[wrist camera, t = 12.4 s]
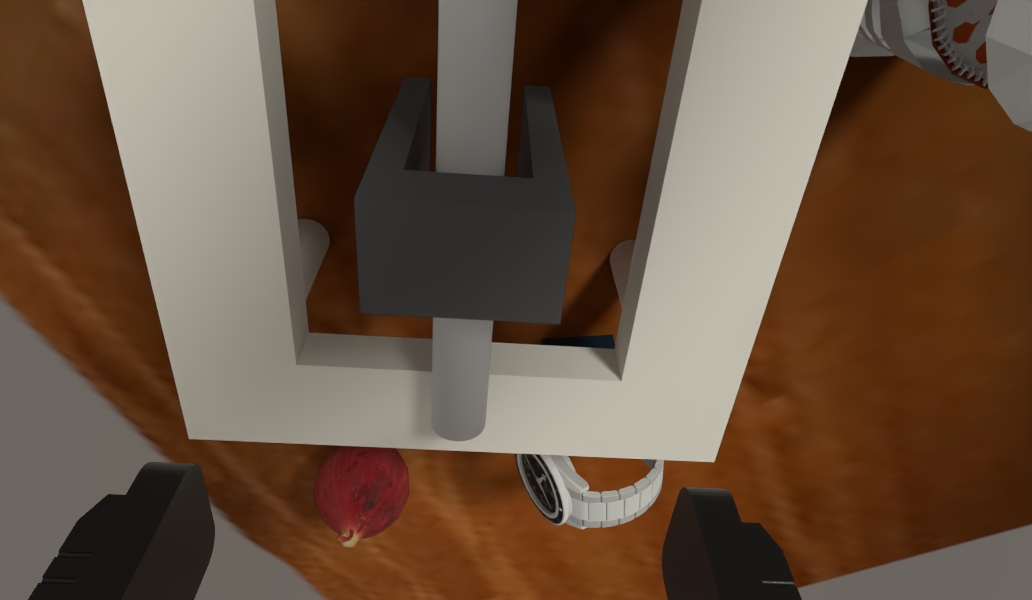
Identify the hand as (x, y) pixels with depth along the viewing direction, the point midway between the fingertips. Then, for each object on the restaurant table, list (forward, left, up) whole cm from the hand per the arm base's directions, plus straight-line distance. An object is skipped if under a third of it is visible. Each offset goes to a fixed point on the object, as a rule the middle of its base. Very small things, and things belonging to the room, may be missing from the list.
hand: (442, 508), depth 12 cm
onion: (+6, +25, -26) cm, 37 cm away
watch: (-7, +18, -26) cm, 33 cm away
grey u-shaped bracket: (0, 0, -19) cm, 19 cm away
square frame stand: (0, 0, -26) cm, 26 cm away
